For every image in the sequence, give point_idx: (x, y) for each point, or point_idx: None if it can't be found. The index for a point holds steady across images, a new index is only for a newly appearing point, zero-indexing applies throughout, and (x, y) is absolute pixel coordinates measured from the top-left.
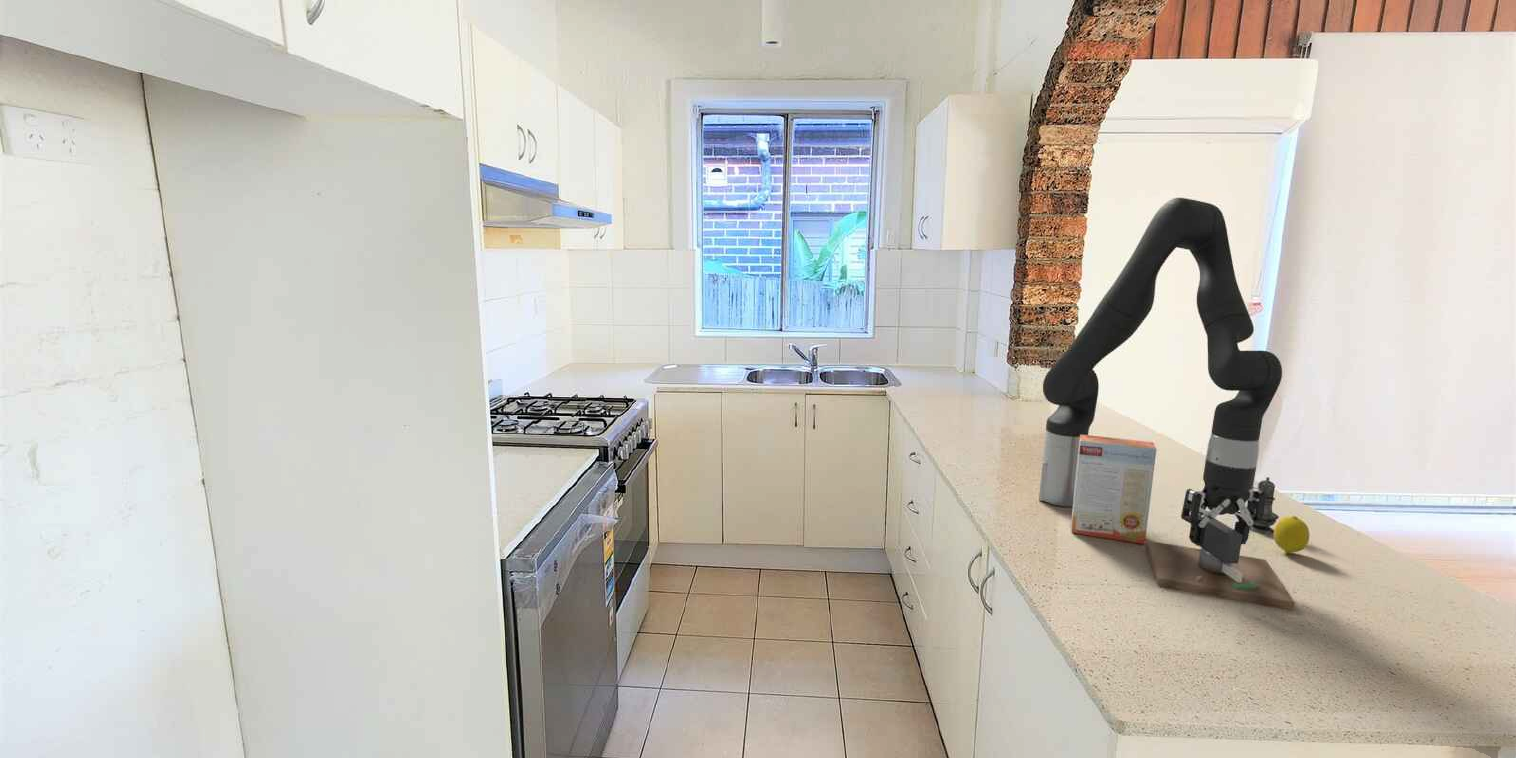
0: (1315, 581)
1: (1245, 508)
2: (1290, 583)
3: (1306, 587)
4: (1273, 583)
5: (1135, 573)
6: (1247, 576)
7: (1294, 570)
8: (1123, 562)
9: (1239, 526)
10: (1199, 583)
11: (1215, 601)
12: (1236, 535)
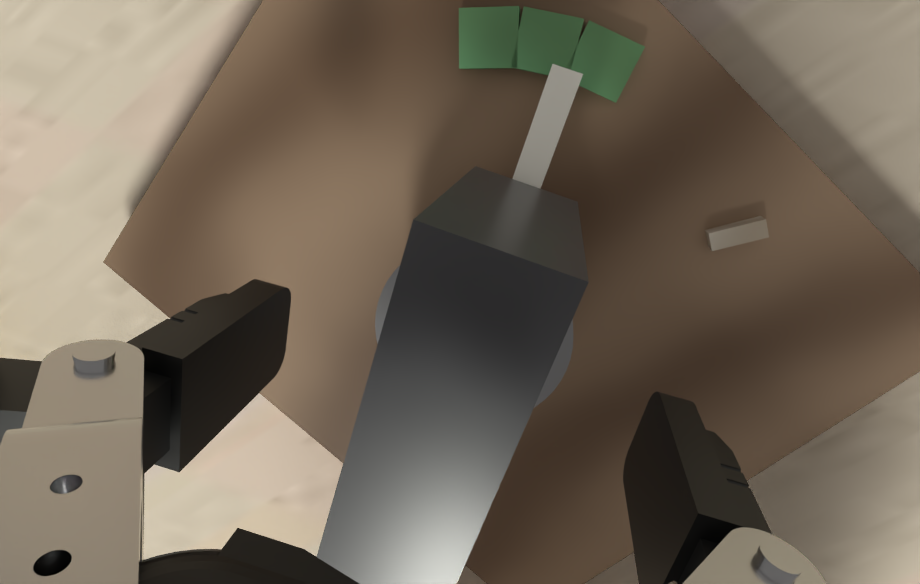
0: (3, 46)
1: (11, 543)
2: (150, 72)
3: (102, 7)
4: (309, 27)
5: (893, 451)
6: (382, 153)
7: (18, 172)
8: (814, 545)
9: (199, 406)
10: (791, 188)
11: (806, 46)
12: (497, 245)
